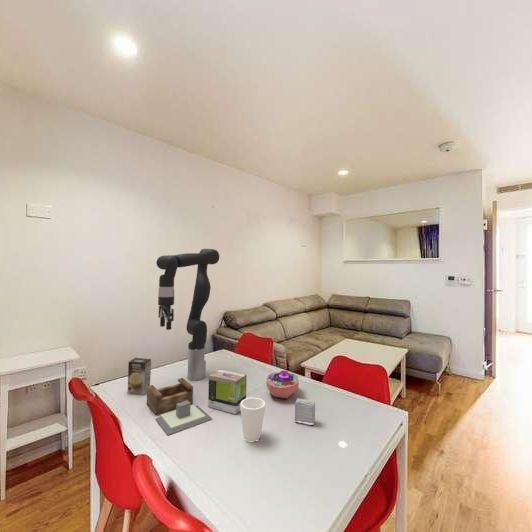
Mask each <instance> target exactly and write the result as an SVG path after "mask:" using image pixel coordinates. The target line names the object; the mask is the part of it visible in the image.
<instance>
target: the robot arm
mask: <svg viewBox="0 0 532 532" xmlns="http://www.w3.org/2000/svg"><path fill="white" fill-rule="evenodd" d="M219 260H220V253H219V251H218V250H217V249H213V248H202V249H200V251H199V253H198V252H197V253H196V252H195V253H193V252H192V253H191V252H190V253H180V254H179V253H178V254H172V255H171V254H170V255H169V254H168V255H167V254H165V255H161V256H159V257H158V258H157V260H156V266H157V267H158V268H159V269H160V270H164V273H163V274H161V275H160V276H159V283H158V296H157V297H158V298H157V305H158V318H159V319H160V320H159V323H160V325H159V327H161V328H162V327H163V328H164V327H165V329H166V330H167V331H170V330H172V322H174V318H175V317H174V316H175V314H174V308H172V306H174V305H175V277H176V273H177V270H178V268H185V267H191V266H192V267H193V266H197V269H196V278H195V284H194V289H193V296H192V301H191V307H190V312H189V315H188V319H187V322H186V332H187V333H188V334H189V335H191V336H192V338H191V341H189V342H188V345H187V346H188V347H187V349H188V351H187V379H188V380H189V381H200V380H203V379H204V378H206V371H207V370H206V367H207V361H206V359H205V358H206V357H205V354H206V351H205V349H206V348H205V346H206V343H207V339H208V338H207V337H208V335H207V334H208V326H207V325H208V324H207V323H206V321H204V320H201V317H202V312H203V309H204V307H205V306H206V305H207V303H208V302H209V299H210V293H211V282H210V279H209V276H208V266H209V265H215V264H217V263H218V262H219Z"/></svg>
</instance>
